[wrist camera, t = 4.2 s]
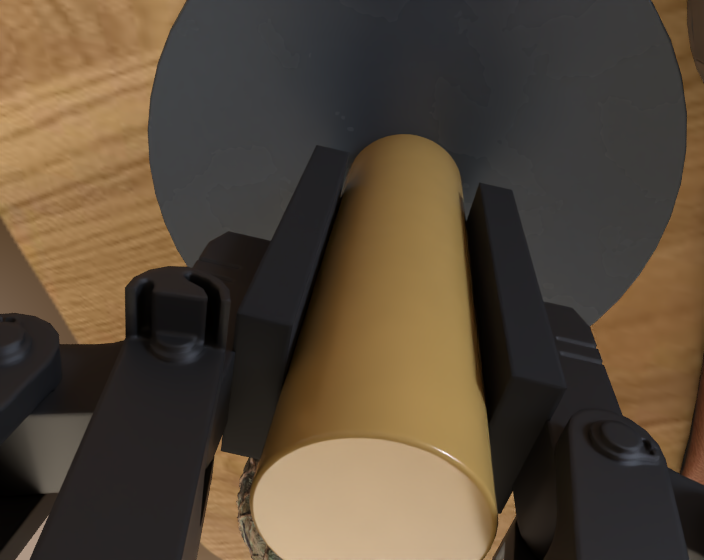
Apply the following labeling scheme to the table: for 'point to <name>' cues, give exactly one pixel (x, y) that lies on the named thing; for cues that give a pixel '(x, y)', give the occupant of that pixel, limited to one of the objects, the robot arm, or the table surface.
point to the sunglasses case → (696, 439)
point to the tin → (696, 32)
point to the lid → (412, 223)
